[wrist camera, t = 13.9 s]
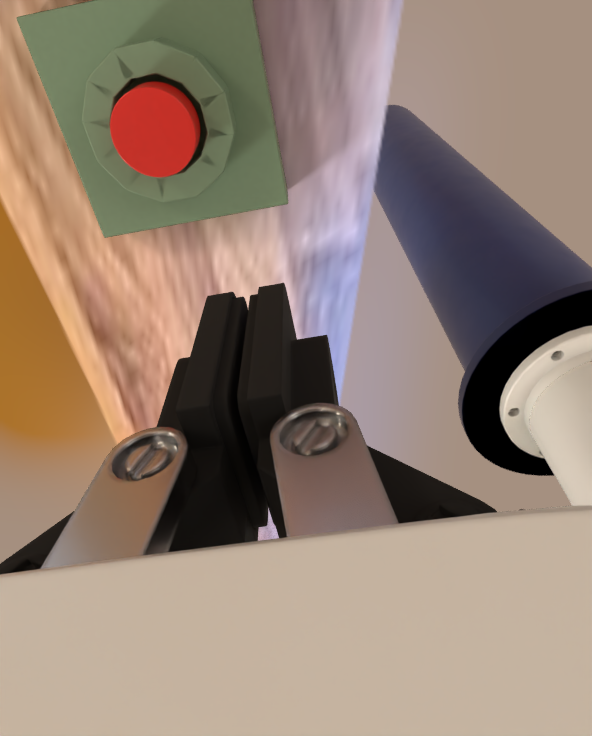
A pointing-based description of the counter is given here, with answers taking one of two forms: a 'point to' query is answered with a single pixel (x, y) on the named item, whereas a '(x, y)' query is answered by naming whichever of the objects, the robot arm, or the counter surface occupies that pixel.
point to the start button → (155, 129)
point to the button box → (180, 69)
